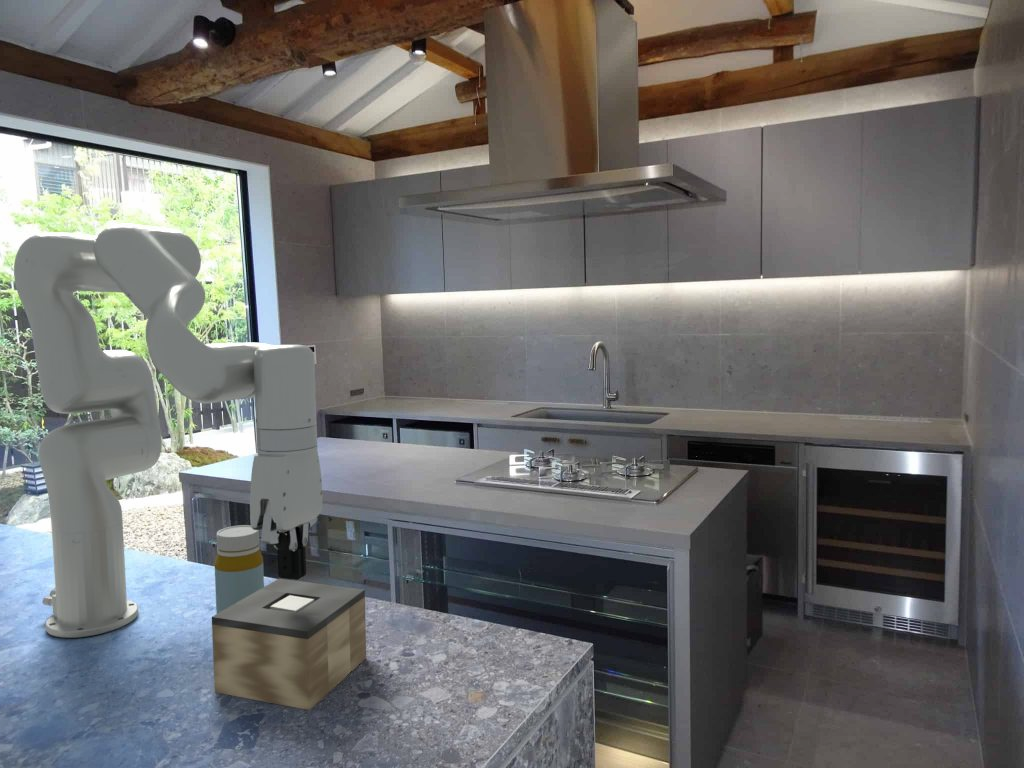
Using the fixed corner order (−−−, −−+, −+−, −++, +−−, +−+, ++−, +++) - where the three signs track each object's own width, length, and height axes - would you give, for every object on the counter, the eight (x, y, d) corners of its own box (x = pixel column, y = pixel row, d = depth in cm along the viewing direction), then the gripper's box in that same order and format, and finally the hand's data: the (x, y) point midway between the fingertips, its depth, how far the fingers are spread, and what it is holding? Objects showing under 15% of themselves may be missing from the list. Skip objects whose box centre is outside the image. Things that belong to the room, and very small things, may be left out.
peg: (272, 678, 96) (270, 606, 95) (291, 665, 100) (289, 595, 99) (297, 684, 94) (295, 610, 93) (316, 670, 98) (314, 599, 97)
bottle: (249, 636, 108) (245, 539, 107) (207, 632, 110) (203, 536, 108) (273, 617, 115) (270, 525, 114) (234, 613, 117) (230, 523, 115)
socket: (214, 692, 92) (211, 616, 91) (280, 644, 106) (278, 578, 105) (309, 710, 88) (307, 631, 87) (366, 658, 101) (364, 589, 101)
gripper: (295, 430, 102) (300, 556, 104) (224, 448, 88) (230, 594, 90) (342, 432, 100) (346, 561, 102) (276, 451, 86) (282, 601, 87)
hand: (292, 576), depth 96 cm, fingers closed
